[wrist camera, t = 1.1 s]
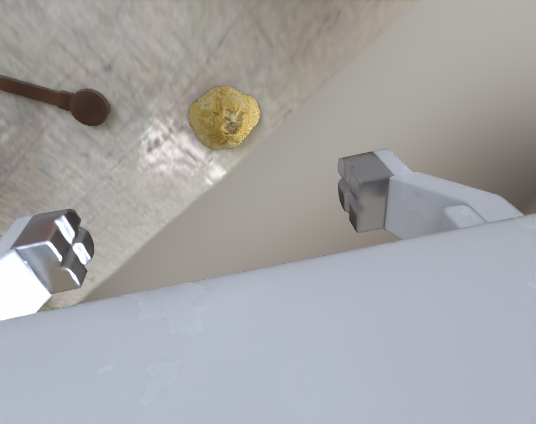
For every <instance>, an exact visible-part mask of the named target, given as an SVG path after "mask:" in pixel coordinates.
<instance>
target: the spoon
mask: <svg viewBox="0 0 536 424" xmlns="http://www.w3.org/2000/svg"><path fill="white" fill-rule="evenodd" d="M0 90H3V91H6V92H10V93H14V94H17V95H21V96H25V97H29V98H32V99H36V100H40V101H43V102H47V103H51V104H54V105H58V106H59V108H61V109H65V110H68V111H71V113H72V115H73V116H74V117H75V119H76V120H78V121H79V122H81V123H82V124H85V125H88V126H97V125H100V124H102V123H103V122H104V121H105V120H106V118H107V117H108V115H109V110H110V109H109V104H108V102H107V100H106V98H105V97H104V96H103V95H102V94H101V93H99V92H97V91H95V90H92V89H82V90H79V91H77V92H76V93H75V94H73V93H70V92H66V91H63V90H62V91H60V92H59V91H55V90H52V89H48V88H45V87H41V86H38V85H34V84H31V83H27V82H24V81H20V80H16V79H13V78H9V77H6V76H2V75H0Z"/></svg>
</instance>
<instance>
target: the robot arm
mask: <svg viewBox="0 0 536 424" xmlns="http://www.w3.org/2000/svg"><path fill="white" fill-rule="evenodd" d="M338 172H339V173H340V175H341V177H342V178H341V180H340V181H339V183H338V192H339V198H340V202H341V205H342V207H343V209H344V211H346V212H348V213H349V220H350V222H351V224H352V225H353V227H354V229H355V230H356V232H357V233H361V232H367V231H372V230H378V229H384V230H386V231H387V232H389V233H391V234H393V235H394V236H396V237H397V238H399V239H401V240H398V241H393V242H389V243H383V244H378V245H373V246H369V247H363V248H358V249H353V250H348V251H343V252H338V253H333V254H328V255H323V256H318V257H313V258H308V259H303V260H298V261H293V262H288V263H283V264H278V265H273V266H268V267H264V268H258V269H253V270H248V271H243V272H238V273H233V274H228V275H223V276H218V277H213V278H208V279H203V280H198V281H193V282H188V283H182V284H178V285H172V286H168V287H162V288H157V289H153V290H148V291H142V292H137V293H132V294H127V295H122V296H117V297H112V298H107V299H102V300H97V301H92V302H87V303H82V304H77V305H72V306H67V307H62V308H57V309H52V310H47V311H42V312H37V310H38V309H39V308H40V307H41V306H42V305H43V304H44V303H45V302H46V301H47V300H48V299H49V298H50V297H51V296H52V295H51V294H55V293H59V292H64V291H68V290H73V289H77V288H81V286H82V283H83V281H84V278H85V276H86V273H87V270H86V268H85V267H84V266H85V265H87V264H88V263H89V262H90V261H91V260H92V257H93V254H94V243H93V240H92V237H91V235H90V234H89V232H88V231H87V230H85V229H83V228H82V227H80V222H81V219H80V217H79V216H78V214H77V213H76V211H74V210H72V209H65V210H60V211H54V212H48V213H42V214H37V215H35V214H34V215H30V216H25V217H20V218H17V219H15V220H14V222H13V223H12V224H11V226H10V227H9V228H8V230H7V231H6V232H5V234H4V235H3V236H2V237H1V239H0V424H536V213H535V214H530V215H524V214H522V213H521V212H520V211H518V210H517V209H516V208H515V207H513V206H512V205H511V204H510V203H509V202H507V201H506V200H505V199H504V198H502V197H501V196H499V195H496V194H492V193H489V192H486V191H482V190H479V189H475V188H472V187H468V186H465V185H462V184H458V183H454V182H451V181H448V180H445V179H441V178H438V177H434V176H431V175H428V174H424V173H421V172H412V171H411V170H410V169H409V168H408V167H407V166H406V165H405V164H404V163H403V162H402V161H401V160H400V159H399V158H398V157H397V156H396V155H395V154H394V153H392V151H391V150H390V149H387V148H385V149H381V150H377V151H372V152H367V153H362V154H358V155H353V156H349V157H344V158H340V159H339V162H338ZM36 312H37V313H36Z"/></svg>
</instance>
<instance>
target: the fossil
mask: <svg viewBox="0 0 536 424" xmlns="http://www.w3.org/2000/svg"><path fill="white" fill-rule="evenodd" d="M259 116H260V109H259V107H258V105H257V102H256V100H255V99H254V98H253V97H251V96H246V95H245V94H243V93H241V92H239V91H236V90H235V89H234V88H231V87H228V86H221V87H214V88H212V89H211V90H210V91H208V92H207V94H205V95H204V96H203V97H200V98H199V99H198V100H196V102H195V103H193V104H192V105H191V107H190V109H189V124H190V126H191V127H192V128H193V131H194V133H195V135H196V137H197V138H198V140H199V141H200V142H201V143H202V144H203V145H204V146H206V147H209V148H210V149H224V148H225V149H226V148H233V147H235V146H238V145H239V144H240V143H241V142H242V140H243V139H244V138H245V137H246V136H247V135H248V134H249V133H250V132H251V129H252V128H253V127H254V126H255V125H256V124H257V122H258V119H259Z"/></svg>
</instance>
